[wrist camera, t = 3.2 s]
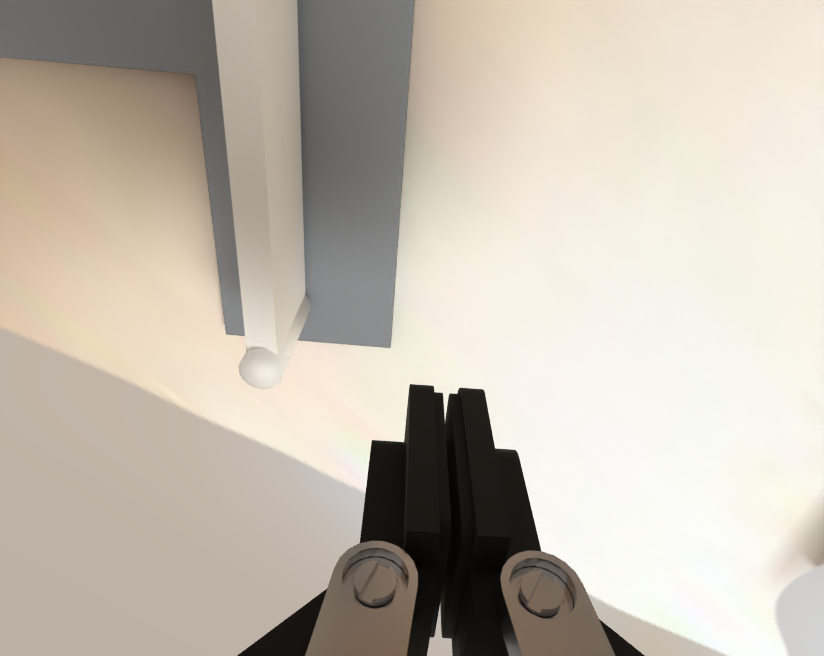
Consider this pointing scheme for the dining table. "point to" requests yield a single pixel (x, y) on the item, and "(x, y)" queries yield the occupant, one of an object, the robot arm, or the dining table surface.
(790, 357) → the dining table surface
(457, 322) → the dining table surface
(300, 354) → the dining table surface
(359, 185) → the fence base
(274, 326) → the fence gate
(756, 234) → the dining table surface
